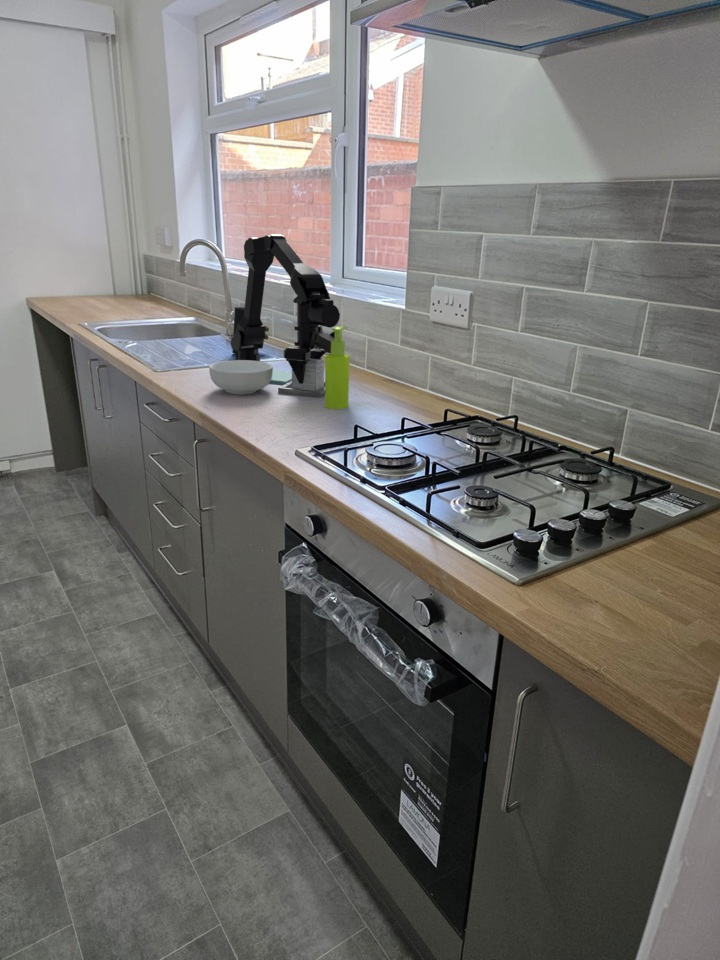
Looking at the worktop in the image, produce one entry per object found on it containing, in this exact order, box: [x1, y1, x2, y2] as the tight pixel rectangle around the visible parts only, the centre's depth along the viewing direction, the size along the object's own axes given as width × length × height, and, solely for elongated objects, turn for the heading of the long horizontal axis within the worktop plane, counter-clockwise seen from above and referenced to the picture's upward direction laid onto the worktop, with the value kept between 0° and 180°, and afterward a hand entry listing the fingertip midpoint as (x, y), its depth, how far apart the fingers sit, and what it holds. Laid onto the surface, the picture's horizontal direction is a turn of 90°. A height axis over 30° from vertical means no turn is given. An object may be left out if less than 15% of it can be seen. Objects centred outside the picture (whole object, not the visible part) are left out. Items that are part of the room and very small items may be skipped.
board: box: [269, 369, 292, 386], centre depth 191 cm, size 12×12×1 cm
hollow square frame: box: [277, 381, 325, 398], centre depth 179 cm, size 12×12×2 cm
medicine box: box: [291, 358, 325, 391], centre depth 178 cm, size 8×4×9 cm, turn 65°
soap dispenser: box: [324, 325, 350, 410], centre depth 162 cm, size 6×7×20 cm
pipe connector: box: [232, 306, 270, 355], centre depth 221 cm, size 12×5×15 cm, turn 113°
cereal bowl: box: [208, 359, 274, 395], centre depth 176 cm, size 17×17×7 cm
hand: (307, 379), depth 178 cm, fingers open, 9 cm apart
